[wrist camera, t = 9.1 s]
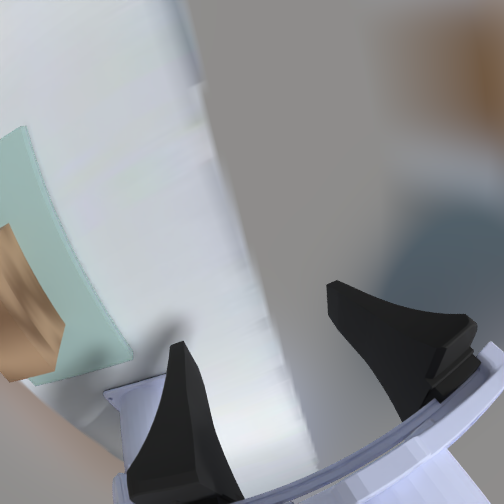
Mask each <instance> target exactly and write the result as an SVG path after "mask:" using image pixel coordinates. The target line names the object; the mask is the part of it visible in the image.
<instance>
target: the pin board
mask: <svg viewBox="0 0 504 504" xmlns="http://www.w3.org/2000/svg"><path fill="white" fill-rule="evenodd" d="M8 223H9V224H10V226H11V229H12V231H13V233H14V235H15V237H16V240H17V242H18V244H19V246H20V248H21V250H22V252H23V254H24V256H25V258H26V260H27V262H28V264H29V265H30V267H31V269H32V271H33V273H34V275H35V276H36V278H37V280H38V282H39V283H40V285H41V287H42V288H43V290H44V292H45V293H46V295H47V297H48V298H49V300H50V302H51V303H52V305H53V306H54V308H55V309H56V311H57V312H58V314H59V315H60V317H61V318H62V320H63V321H64V323H65V324H66V325H65V329H64V333H63V337H62V341H61V345H60V349H59V353H58V358H57V363H56V368H55V371H54V372H50V373H47V374H43V375H39V376H35V377H31V378H28V379H29V380H30V381H31V382H32V383H33V384H34V385H35V386H39V385H43V384H47V383H51V382H55V381H59V380H63V379H67V378H71V377H75V376H78V375H82V374H86V373H89V372H93V371H96V370H100V369H103V368H107V367H110V366H114V365H117V364H120V363H124V362H127V361H130V360H133V351H132V349H131V348H130V347H129V345H128V344H127V342H126V341H125V339H124V338H123V336H122V335H121V333H120V332H119V330H118V329H117V327H116V326H115V324H114V322H113V321H112V319H111V318H110V316H109V314H108V313H107V311H106V310H105V308H104V306H103V305H102V303H101V301H100V299H99V298H98V296H97V294H96V293H95V291H94V289H93V287H92V285H91V284H90V282H89V280H88V278H87V276H86V275H85V273H84V271H83V269H82V267H81V265H80V263H79V261H78V259H77V257H76V255H75V253H74V251H73V249H72V247H71V245H70V243H69V241H68V239H67V237H66V234H65V232H64V230H63V228H62V226H61V223H60V221H59V219H58V216H57V214H56V212H55V209H54V207H53V204H52V202H51V199H50V197H49V194H48V192H47V189H46V186H45V184H44V181H43V178H42V175H41V173H40V170H39V167H38V164H37V161H36V158H35V155H34V151H33V148H32V145H31V141H30V138H29V134H28V131H27V127H26V126H20V127H19V128H17V129H15V130H14V131H12V132H11V133H9V134H8V135H6V136H4V137H3V138H1V139H0V228H1V227H3V226H4V225H6V224H8Z"/></svg>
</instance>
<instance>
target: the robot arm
mask: <svg viewBox="0 0 504 504" xmlns="http://www.w3.org/2000/svg"><path fill="white" fill-rule="evenodd" d="M326 286H327V303H328V315H329V317H330V319H331V320H332V322H333V323H334V325H335V326H336V328H337V329H338V330H339V331H340V333H341V334H342V335H343V336H344V337H345V339H346V340H347V341H348V342H349V343H350V344H351V345H352V346H353V348H354V349H355V350H356V351H357V352H358V353H359V354H360V356H361V357H362V358H363V359H364V360H365V361H366V363H367V364H368V365H369V367H370V368H371V369H372V371H373V373H374V374H375V375H376V377H377V379H378V380H379V382H380V383H381V385H382V386H383V388H384V390H385V391H386V393H387V394H388V396H389V398H390V400H391V402H392V403H393V405H394V407H395V409H396V411H397V413H398V415H399V417H400V419H401V421H402V423H401V424H399V425H398V426H396V427H395V428H393V429H392V430H390V431H389V432H387V433H386V434H385V435H383V436H381V437H380V438H378V439H376V440H375V441H373V442H372V443H370V444H368V445H367V446H365V447H363V448H361V449H360V450H358V451H356V452H354V453H353V454H351V455H349V456H347V457H345V458H344V459H342V460H340V461H338V462H336V463H334V464H332V465H330V466H328V467H326V468H324V469H322V470H319V471H317V472H315V473H313V474H311V475H309V476H306V477H304V478H302V479H299V480H297V481H295V482H292V483H290V484H287V485H285V486H282V487H279V488H277V489H274V490H271V491H268V492H266V493H263V494H260V495H257V496H254V497H251V498H247V499H245V498H244V496H243V495H242V493H241V491H240V488H239V486H238V484H237V482H236V480H235V478H234V476H233V474H232V471H231V469H230V467H229V465H228V462H227V460H226V457H225V455H224V453H223V450H222V448H221V445H220V442H219V440H218V437H217V434H216V432H215V428H214V425H213V421H212V417H211V412H210V408H209V404H208V399H207V395H206V390H205V386H204V383H203V380H202V377H201V374H200V371H199V368H198V366H197V364H196V363H195V361H194V359H193V357H192V355H191V354H190V352H189V350H188V348H187V346H186V345H185V343H184V341H181V342H179V343H176V344H173V345H171V346H170V352H169V360H168V367H167V373H166V374H163V375H160V376H157V377H154V378H150V379H147V380H143V381H140V382H137V383H133V384H130V385H126V386H122V387H119V388H115V389H111V390H107V391H104V392H103V396H104V397H105V398H106V399H107V400H108V401H109V402H110V403H111V404H112V405H113V406H114V407H115V408H116V409H117V410H118V411H119V412H120V424H121V437H122V448H123V458H124V466H125V473H118V474H117V476H116V477H114V478H113V484H112V489H113V502H114V504H294V503H293V502H288V501H291V500H293V499H296V498H298V497H301V496H303V495H305V494H308V493H310V492H312V491H315V490H317V489H319V488H321V487H323V486H325V485H328V484H330V483H332V482H334V481H336V480H338V479H340V478H342V477H344V476H346V475H347V474H349V473H351V472H353V471H355V470H357V469H358V468H360V467H362V466H364V465H365V464H367V463H369V462H370V461H372V460H374V459H375V458H377V457H378V456H380V455H382V454H383V453H385V452H386V451H388V450H390V449H391V448H393V447H394V446H395V445H397V444H398V443H400V442H401V441H403V440H404V439H405V441H404V442H403V443H401V444H400V445H398V446H397V447H396V448H394V449H392V450H391V451H389V452H388V453H387V454H385V455H383V456H382V457H380V458H379V459H377V460H375V461H374V462H372V463H370V464H369V465H367V466H366V467H364V468H362V469H360V470H358V471H356V472H355V473H353V474H351V475H350V476H348V477H346V478H345V479H343V480H341V481H340V482H339V483H337V484H335V485H333V486H331V487H329V488H327V489H326V490H324V491H322V492H320V493H318V494H316V495H314V496H312V497H310V498H308V499H306V500H303V501H301V502H299V503H297V504H491V503H490V502H489V501H488V499H487V498H486V497H485V496H484V494H483V493H482V492H481V490H480V489H479V488H478V487H477V485H476V484H475V483H474V482H473V480H472V479H471V478H470V477H469V475H468V474H467V473H466V472H465V470H464V469H463V468H462V467H461V465H460V464H459V463H458V462H457V460H456V459H455V458H454V457H453V455H452V454H451V453H450V452H449V451H448V448H449V447H450V446H451V445H452V444H453V443H454V442H455V441H456V440H457V439H459V438H460V437H461V436H462V435H463V433H465V432H466V431H467V430H468V429H469V428H470V427H471V426H472V425H473V424H474V423H475V422H476V421H477V420H478V419H479V417H480V416H481V415H482V414H483V413H484V412H485V411H486V410H487V409H488V408H489V407H490V405H491V404H492V403H493V402H494V401H495V400H496V399H497V397H498V396H499V395H500V394H501V393H502V391H503V390H504V352H503V351H502V350H500V349H499V348H498V347H497V346H496V345H495V344H494V343H493V342H492V341H489V343H488V344H487V345H486V346H485V347H484V348H483V349H482V350H481V351H480V352H479V353H478V355H477V356H476V357H475V356H474V355H473V352H474V350H473V349H472V348H471V347H470V345H471V343H472V341H473V339H474V337H475V334H476V332H477V323H476V322H474V321H473V320H472V319H471V318H469V317H468V316H467V315H466V314H442V313H432V312H425V311H420V310H415V309H410V308H407V307H403V306H399V305H396V304H393V303H390V302H387V301H384V300H382V299H379V298H376V297H374V296H371V295H369V294H367V293H365V292H362V291H360V290H358V289H355V288H354V287H351V286H349V285H347V284H345V283H342V282H340V281H337V280H336V281H334V282H331V283H329V284H327V285H326ZM286 502H287V503H286Z"/></svg>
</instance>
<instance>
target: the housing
mask: <svg viewBox="0 0 504 504" xmlns="http://www.w3.org/2000/svg"><path fill="white" fill-rule="evenodd" d="M65 325H66V324H65V323H64V321H63V320H62V318H61V317H60V315H59V314H58V312H57V311H56V309H55V308H54V306H53V305H52V303H51V302H50V300H49V298H48V297H47V295H46V293H45V292H44V290H43V288H42V287H41V285H40V283H39V282H38V280H37V278H36V276H35V275H34V273H33V271H32V269H31V267H30V265H29V264H28V262H27V260H26V258H25V256H24V254H23V252H22V250H21V248H20V246H19V244H18V242H17V240H16V237H15V235H14V233H13V231H12V229H11V226H10V224H9V223H8V224H6V225H4V226H3V227H1V228H0V372H1V373H2V374H3V376H4V377H5V378H6V379H7V380H8V381H9V382H14V381H18V380H23V379H27V378H31V377H35V376H39V375H43V374H47V373H50V372H54V371H55V368H56V363H57V358H58V353H59V349H60V345H61V341H62V337H63V333H64V329H65Z"/></svg>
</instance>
